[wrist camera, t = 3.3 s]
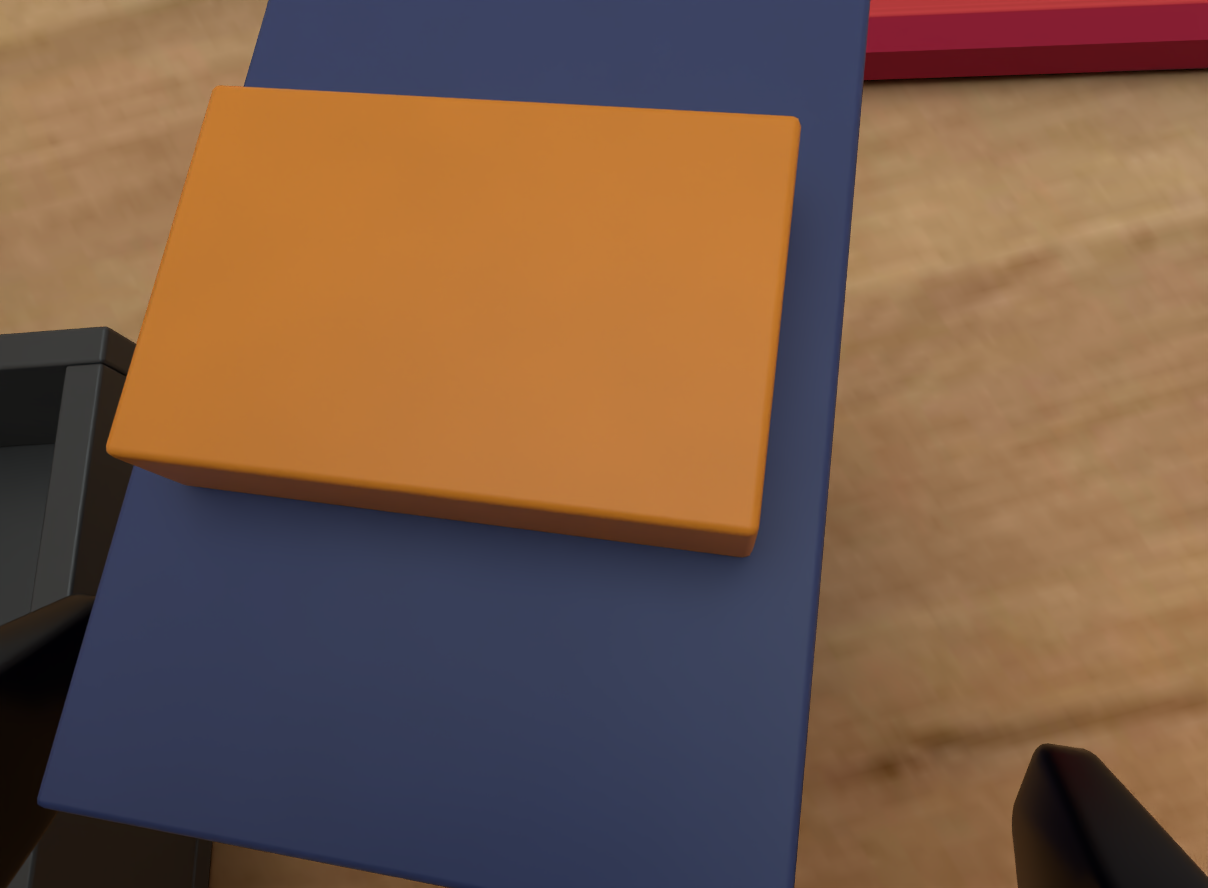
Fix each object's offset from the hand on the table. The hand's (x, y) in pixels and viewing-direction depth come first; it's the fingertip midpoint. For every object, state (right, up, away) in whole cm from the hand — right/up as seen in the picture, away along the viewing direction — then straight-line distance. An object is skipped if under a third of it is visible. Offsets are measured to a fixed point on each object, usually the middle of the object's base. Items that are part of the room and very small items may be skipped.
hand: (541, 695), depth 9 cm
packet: (+1, 0, +10) cm, 10 cm away
